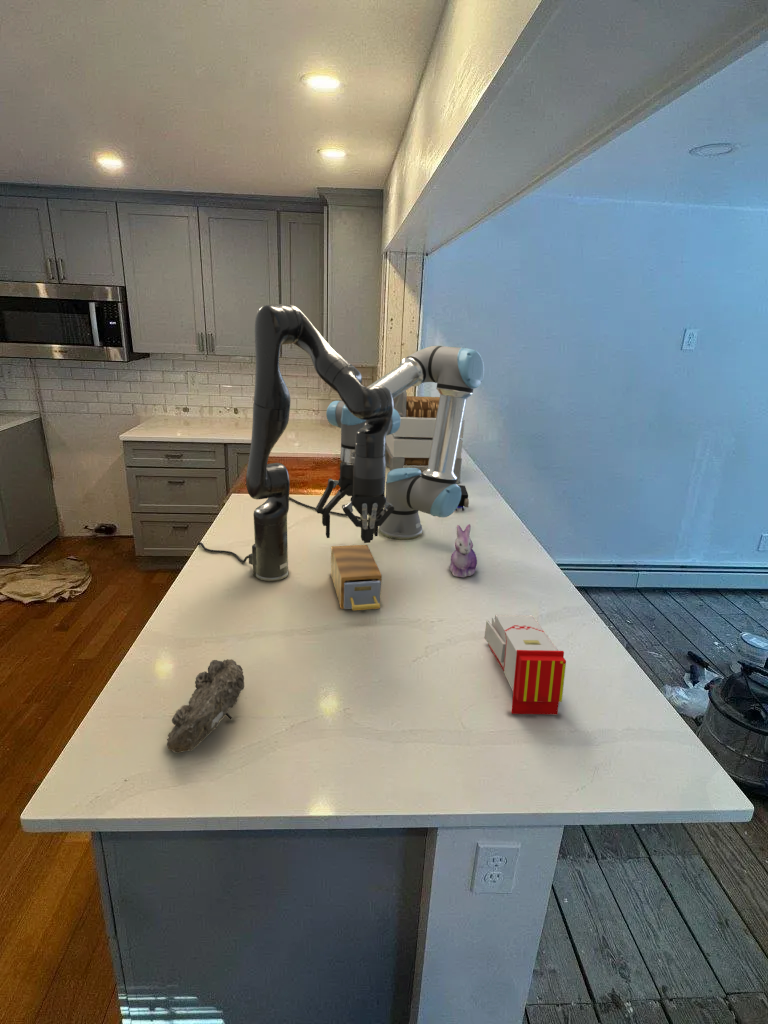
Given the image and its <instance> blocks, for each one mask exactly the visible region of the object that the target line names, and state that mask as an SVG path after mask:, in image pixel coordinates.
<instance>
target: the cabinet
mask: <svg viewBox="0 0 768 1024" xmlns="http://www.w3.org/2000/svg"><path fill="white" fill-rule="evenodd" d="M330 548H331V550H330V553H331V554H330V555H331V556H330V576H331V579H332V583H333V586H334V590H335V593H336V597H337V600H338V604H339V607H340V609H341V610H345V609H344V583H345V581H349V580H366V579H375V581H380V582H381V583H382V581H383V580H382V576H383V575H382V572H381V571H380V569H379V566H378V565H377V562H376V560H375V557H374V555H373V554H372V551H371V549H370V548H369V545H368V544H353V545H352V544H351V545H332V546H330ZM381 599H382V592H381V593H380V603H381V602H382V600H381Z"/></svg>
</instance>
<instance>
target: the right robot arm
mask: <svg viewBox="0 0 768 1024" xmlns="http://www.w3.org/2000/svg"><path fill="white" fill-rule="evenodd" d="M482 357H483V356H482V355H481V354H480V352H478V350H476V349H473V348H467V347H458V346H457V347H456V346H445V345H431V346H427V347H424V348H421V349H419V350H417V351H415V352H413V353H411V354H410V355H408V356H406V357H405V358H403V359H402V360H401V361H400V362H399V365H398V366H397V367H395V368H394V369H392V370H391V371H389V372H388V373H386V374H384V375H383V376H381V377H380V378H378V379H377V380H375V381H374V382H372V383H371V384H369V385H368V386H367V387H372V386H384V387H386V388H387V389H388V390H389V391H390V392H391V394H392V397H393V399H394V398H396V397H397V396H399V395H400V394H402V393H403V392H404V391H406V392H407V390H409V389H410V388H412V387H419V386H420V385H422V384H424V383H435V384H436V390H437V392H438V393H439V397H440V399H439V405H438V410H437V416H436V422H435V428H434V434H433V439H432V445H431V451H430V457H429V463H428V466H427V468H426V469H424V470H423V471H422V470H421V469H420V468H416V467H404V468H398V469H394V470H391V471H390V470H388V472H387V475H386V480H385V498H386V501H387V502H388V503H391V504H392V505H393V507H394V511H393V512H392V513H391V514H390V515H389V517H388V518H387V519H386V520H385V521H384V523H383V524H382V525H381V526H376V527H375V528H374V532H373V536H374V537H378V536H379V534H380V535H381V536H382V537H385V538H387V539H389V540H395V541H410V540H415V539H418V538H420V537H421V536H422V535H423V525H422V524H421V518H420V515H419V512H420V513H421V512H422V513H425V514H426V515H427V514H428V515H430V516H432V517H438V518H443V519H444V518H448V517H450V516H451V515H452V514H453V513H454V512H455V511H456V508H457V507H458V505H459V502H460V499H461V488H460V487H459V486H458V485H459V484H458V483H456V481H457V477H456V476H455V474H454V466H455V461H456V455H457V450H458V444H459V439H461V438H460V433H461V428H462V422H463V419H464V417H465V411H466V406H467V401H468V398H470V397H471V396H472V395H473V394H474V389H477V388H479V387H480V386H481V383H482V382H483V380H484V377H485V364H484V360H483V358H482ZM326 419H327V422H328V423H329V424H330V425H331V426H334V427H337V428H339V429H340V455H339V456H340V457H339V458H340V461H341V462H340V463H339V479H338V480H337V479H333V478H331V477H330V478H328V480H327V486H326V488H325V489H324V491H323V493H322V495H321V497H320V499H319V501H318V503H317V505H316V506H315V507H314V506H311V505H309V504H306V503H303V502H301V501H299V500H297V499H294V498H293V497H291V496H289V501H292V502H294V503H296V504H298V505H300V506H303V507H305V508H308V509H310V510H314V511H315V512H316V513H317V514H320V515H321V518H322V519H321V524H322V525H323V527H325V536H326V539H330V538H331V537H330V535H331V515H337V516H342V517H348V516H347V515H346V514H345V513H344V512H343V513H342V512H336V511H332V510H333V509H334V507H335V506H336V505H337V504H338V503H339V502H341V500H342V499H343V498H344V497H345V496H347V497H352V495H353V466H354V458H355V437H356V433H357V431H358V430H359V429H361V428H362V427H363V426H364V425H365V421H366V420H362V419H359V418H357V417H356V416H354V415H353V414H352V413H351V412H350V411H349V410H348V408H347V407H346V405H345V404H344V402H343V401H342V399H341V400H333V401H331V402H330V403H329V405H328V406H327V408H326ZM400 421H401V419H400V415H399V413H398V412H397V411H396V410H395V409H394V408H393V414H392V418H391V422H390V425H389V429H388V432H387V435H390V434H393V433H395V432H397V431H398V429H399V427H400V423H401V422H400ZM387 435H386V436H387ZM244 485H245V486H246V483H245V484H244ZM337 486H339V489H338V491H337V492H336V494H335V495H334V496H333V497H332V498H331V499H330V500H329V498H330V496H331V494H332V492H333V490H334V489H335V488H336V487H337ZM328 500H329V501H328ZM327 502H328V503H327ZM326 503H327V504H326ZM457 509H458V508H457ZM382 511H383V507H382V508H381V510H380V511H379V512H378V513H377V514H376V518H377V517H378V515H379V514H380V513H381V512H382ZM330 514H331V515H330ZM355 517H356V518H357V519H358V520H361V517H360V515H359V516H358V515H355ZM367 523H368V519H367Z"/></svg>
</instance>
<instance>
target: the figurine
mask: <svg viewBox="0 0 768 1024" xmlns="http://www.w3.org/2000/svg"><path fill="white" fill-rule="evenodd" d="M455 529H456V539H455V542H454V549H455V550H454V551H453V552H452V553H451V556H450V565H449V571H450V573H452V575H453V577H458V578H467V577H470V576H473V575H474V574H475V573H476V570H477V565H478V559H477V554H476V552H475V551H474V548H473V547H474V543H473V540H472V537H471V530H472V525H471V524H470V523H469V524H467V525H466V527H465V528H464V530H463V529H462V527H461V525H460V524H457V525H456V527H455Z"/></svg>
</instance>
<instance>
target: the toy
mask: <svg viewBox="0 0 768 1024" xmlns="http://www.w3.org/2000/svg"><path fill="white" fill-rule="evenodd" d="M494 615H495V616H494V617H491V622H490V620H485V621H486V622H485V630H484V640H485V641H486V642H487V646H488V647H489V649H490V651H491V652H492V654H493V656H494V657H495V659H496V661H497V663H498V665H499V667H500V668H501V670H502V671H503V674H504V676H505V678H506V680H507V682H508V684H509V686H510V689H511V690H512V701H511V712H510V713H511V714H512V715H556V716H558V715H559V714H558V713H559V705H560V703H562V702H563V695H564V694H563V693H564V686H565V685H564V683H565V677H566V676H565V675H566V667H567V666H566V665H567V660H566V658H564V656H565V651H564V650H559V649H558V648H557V646H556V645H555V644H554V642H553V641H552V640H551V638H550V637H549V636H548V634H547V633H546V631H544V629H543V628H542V626H541V625H540V623H539V622H538V620H536V618H535V617H534V615H531V614H530V615H527V614H526V615H523V614H519V615H518V614H494Z"/></svg>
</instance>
